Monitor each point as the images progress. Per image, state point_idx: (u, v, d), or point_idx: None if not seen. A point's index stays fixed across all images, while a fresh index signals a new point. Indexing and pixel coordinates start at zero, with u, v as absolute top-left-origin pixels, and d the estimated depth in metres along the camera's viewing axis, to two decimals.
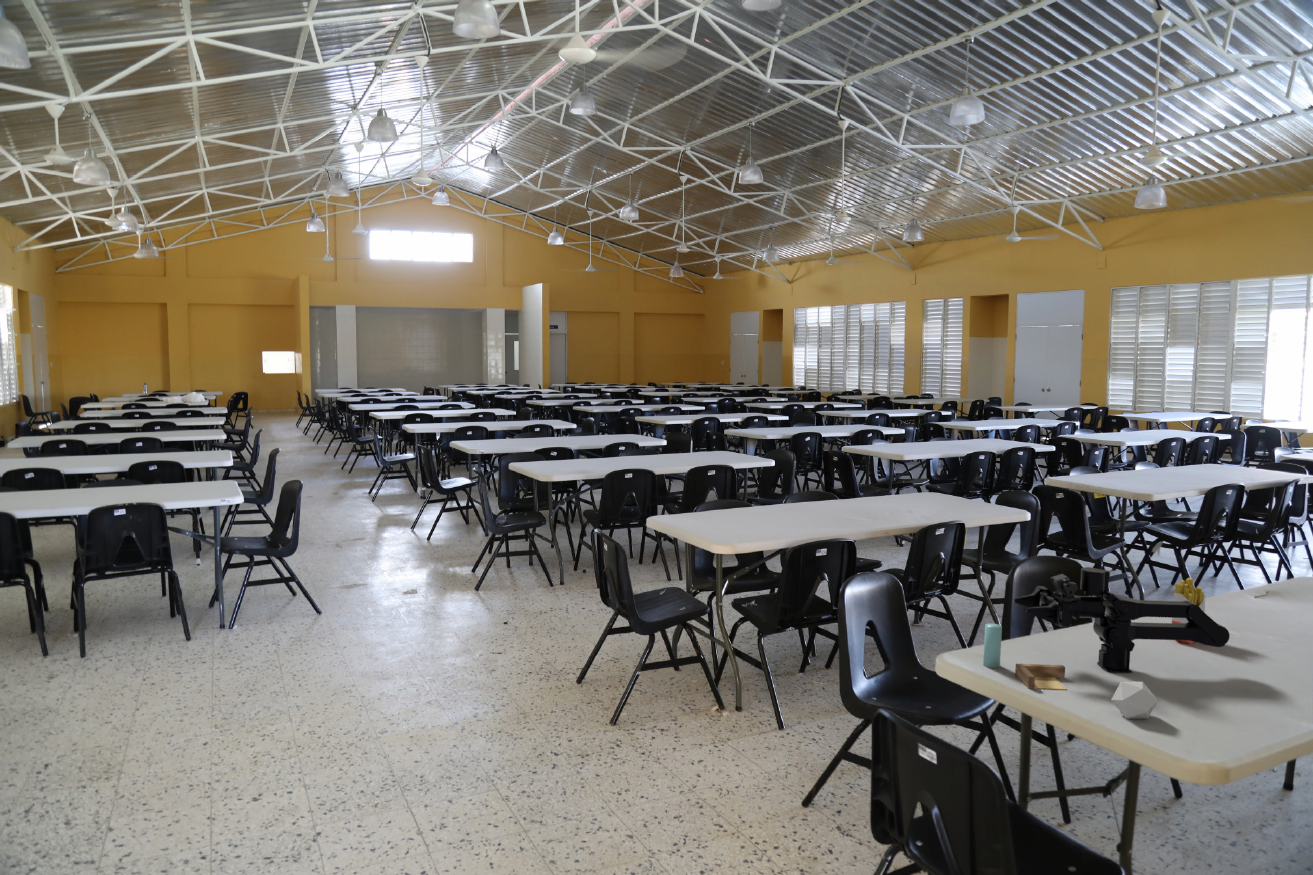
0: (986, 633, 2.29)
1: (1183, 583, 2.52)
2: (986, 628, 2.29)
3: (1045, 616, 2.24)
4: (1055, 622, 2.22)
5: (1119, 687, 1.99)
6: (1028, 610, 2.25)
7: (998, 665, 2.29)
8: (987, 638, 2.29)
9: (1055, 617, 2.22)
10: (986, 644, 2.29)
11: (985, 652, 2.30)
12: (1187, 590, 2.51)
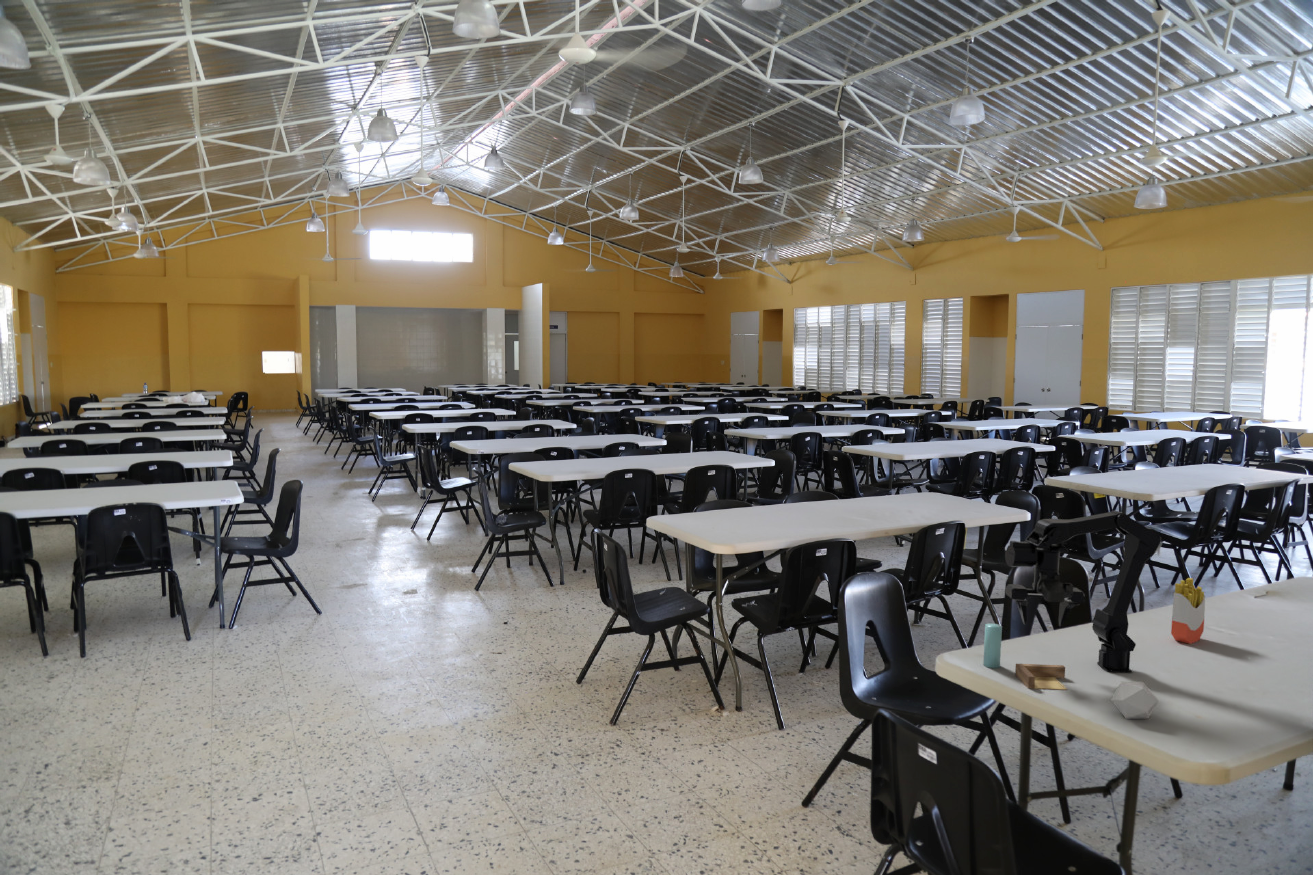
0: (986, 633, 2.29)
1: (1183, 583, 2.52)
2: (986, 628, 2.29)
3: None
4: None
5: (1119, 687, 1.99)
6: None
7: (998, 665, 2.29)
8: (987, 638, 2.29)
9: None
10: (986, 644, 2.29)
11: (985, 652, 2.30)
12: (1187, 590, 2.51)
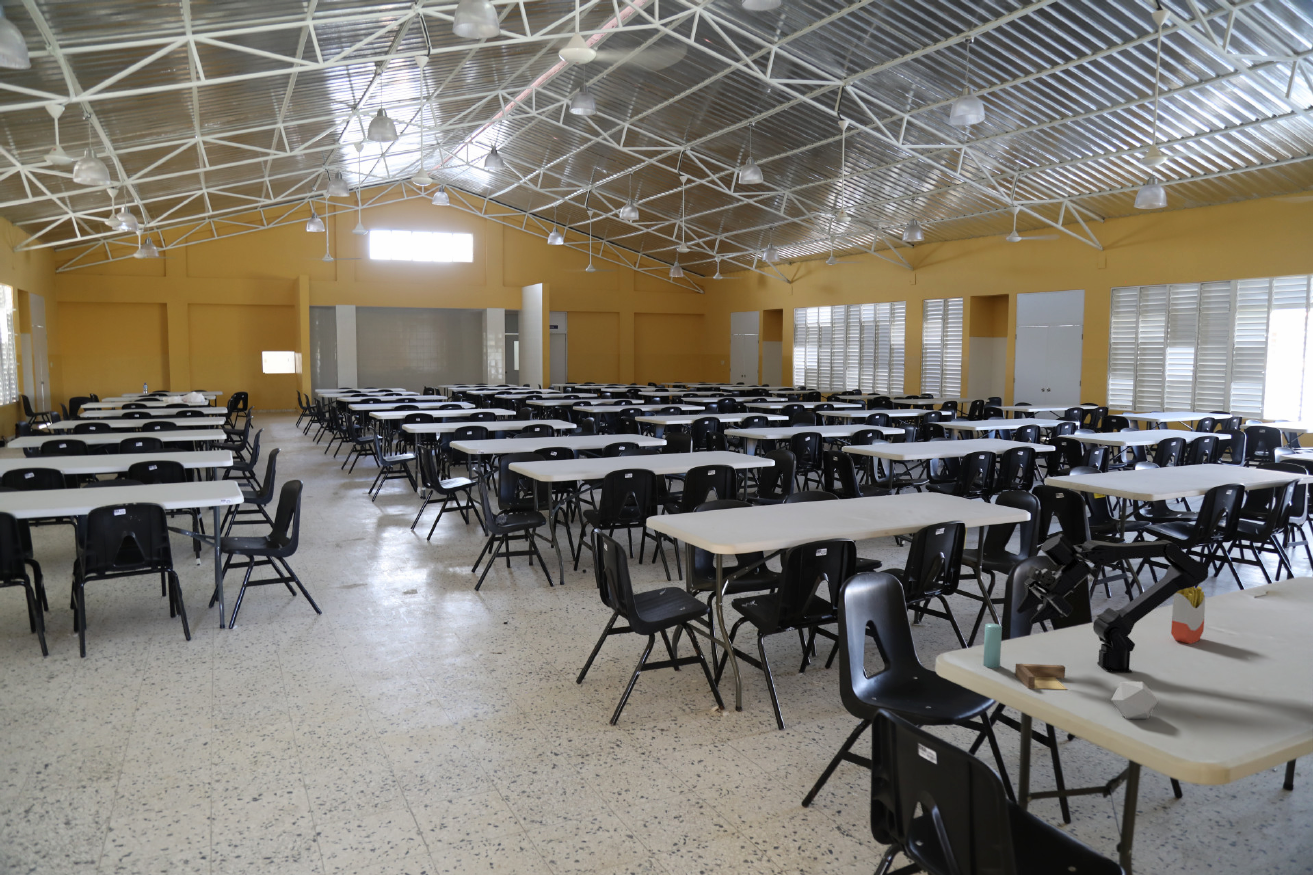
0: (986, 633, 2.29)
1: None
2: (986, 628, 2.29)
3: (1048, 615, 2.23)
4: (1060, 615, 2.21)
5: (1119, 687, 1.99)
6: (1032, 621, 2.24)
7: (998, 665, 2.29)
8: (987, 638, 2.29)
9: (1056, 611, 2.21)
10: (986, 644, 2.29)
11: (985, 652, 2.30)
12: (1187, 590, 2.51)
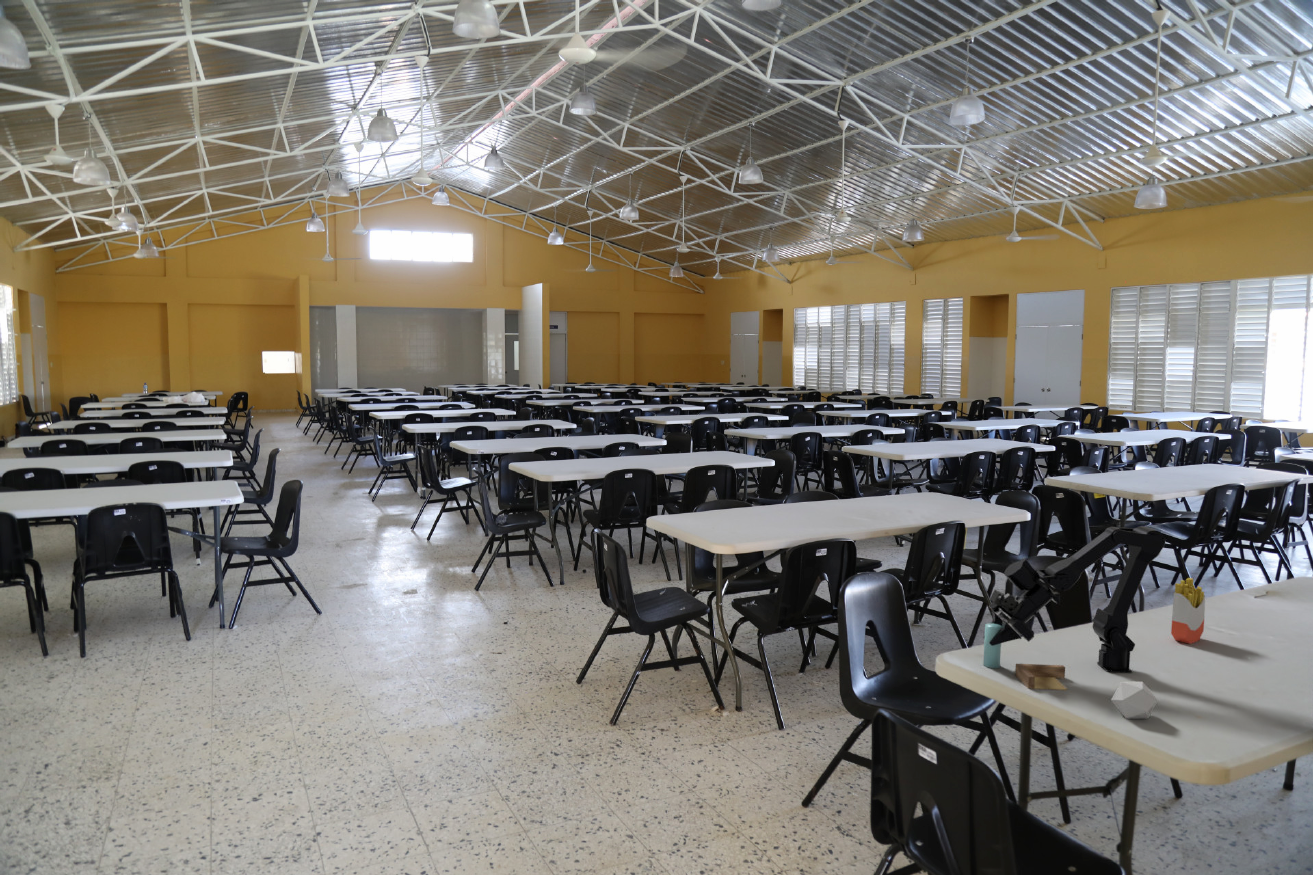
0: (986, 633, 2.29)
1: (1183, 583, 2.52)
2: (986, 628, 2.29)
3: (1007, 637, 2.26)
4: (1018, 637, 2.25)
5: (1119, 687, 1.99)
6: (991, 643, 2.28)
7: (998, 665, 2.29)
8: (987, 638, 2.29)
9: (1014, 633, 2.25)
10: (986, 644, 2.29)
11: (985, 652, 2.30)
12: (1187, 590, 2.51)
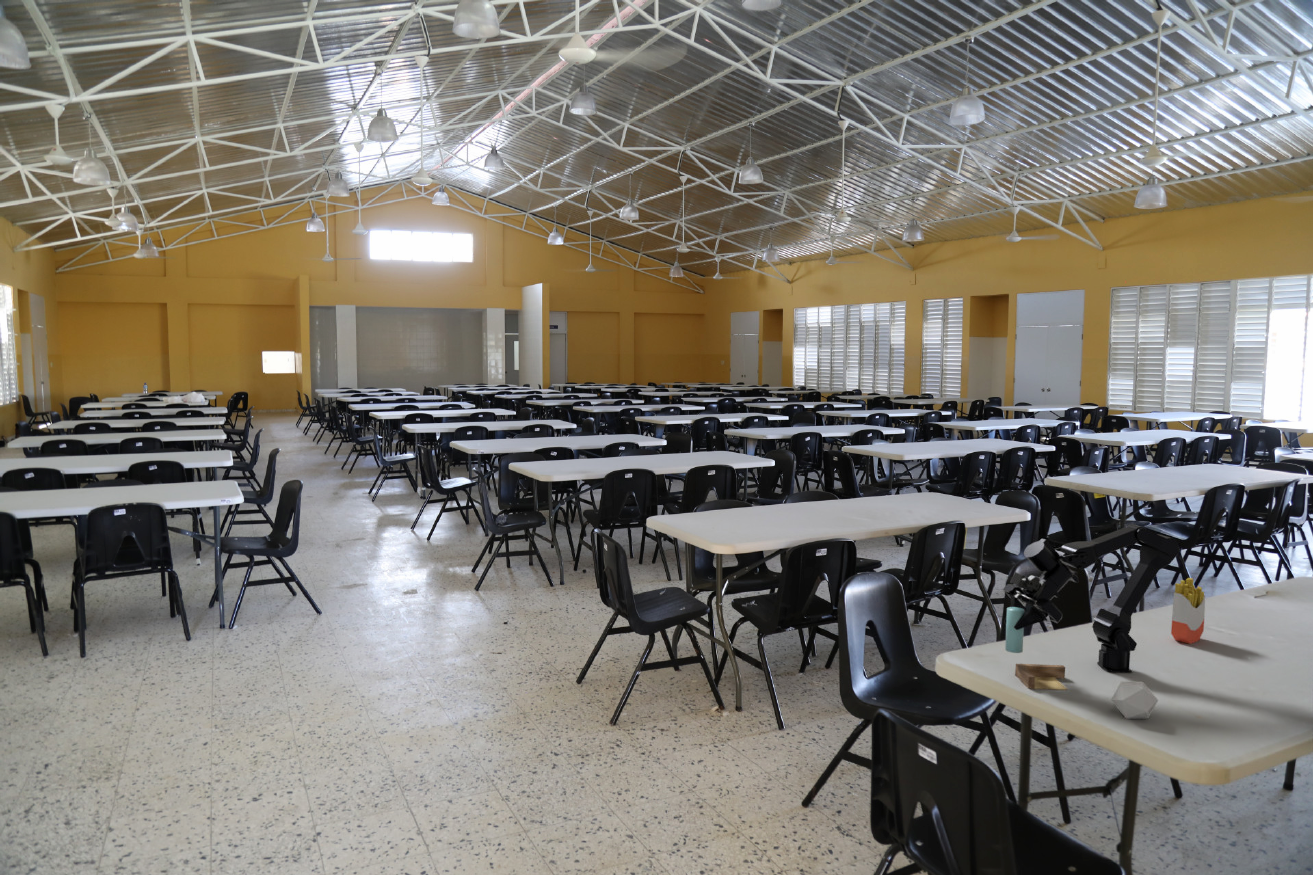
0: (1009, 617, 2.22)
1: (1183, 583, 2.52)
2: (1009, 612, 2.22)
3: (1032, 620, 2.20)
4: (1044, 619, 2.19)
5: (1119, 687, 1.99)
6: (1016, 627, 2.21)
7: (1022, 649, 2.23)
8: (1010, 623, 2.22)
9: (1040, 615, 2.19)
10: (1009, 629, 2.22)
11: (1008, 637, 2.23)
12: (1187, 590, 2.51)
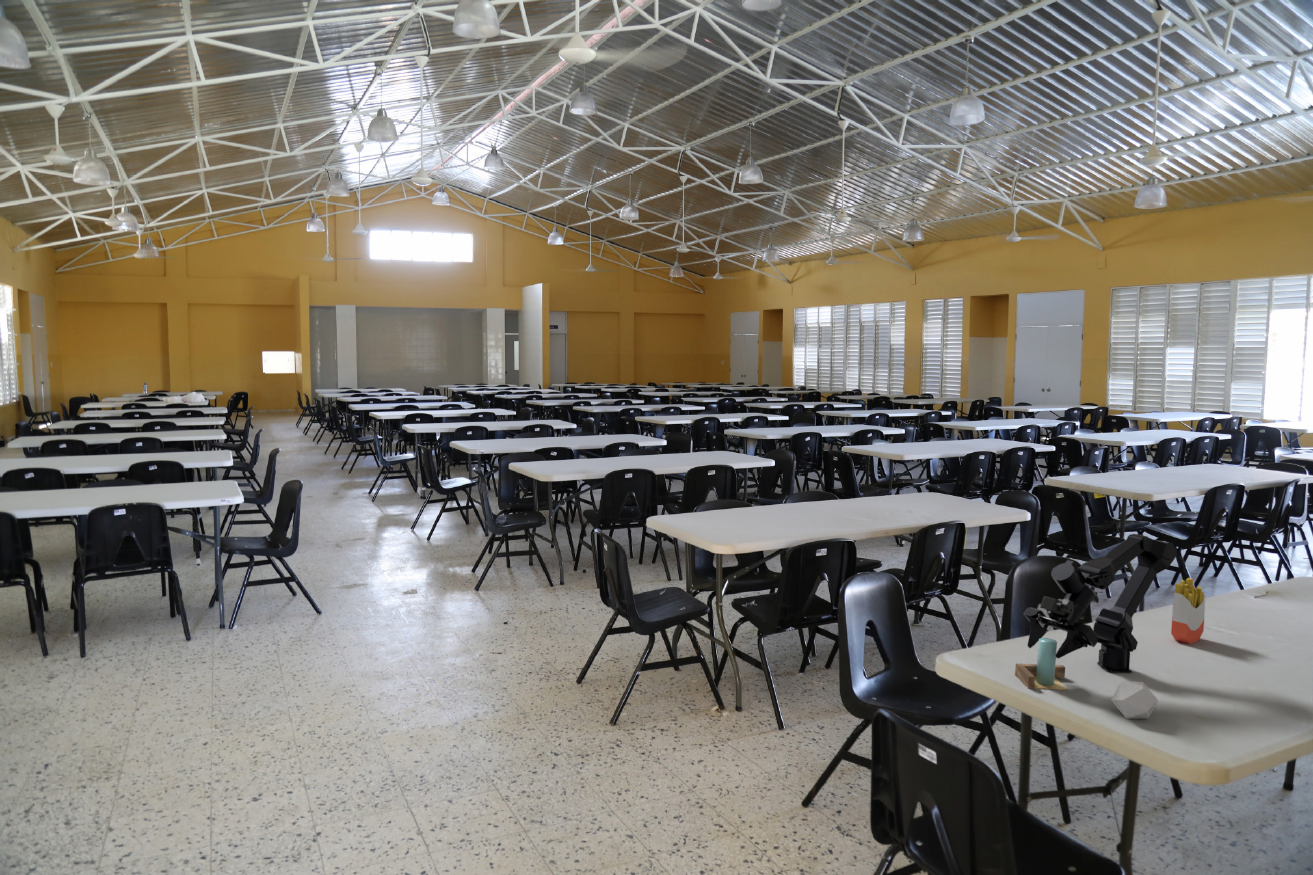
0: (1044, 650, 2.16)
1: (1183, 583, 2.52)
2: (1043, 644, 2.16)
3: (1072, 647, 2.13)
4: (1084, 645, 2.13)
5: (1119, 687, 1.99)
6: (1058, 656, 2.13)
7: None
8: (1045, 655, 2.15)
9: (1081, 642, 2.13)
10: (1044, 661, 2.16)
11: (1042, 670, 2.16)
12: (1187, 590, 2.51)
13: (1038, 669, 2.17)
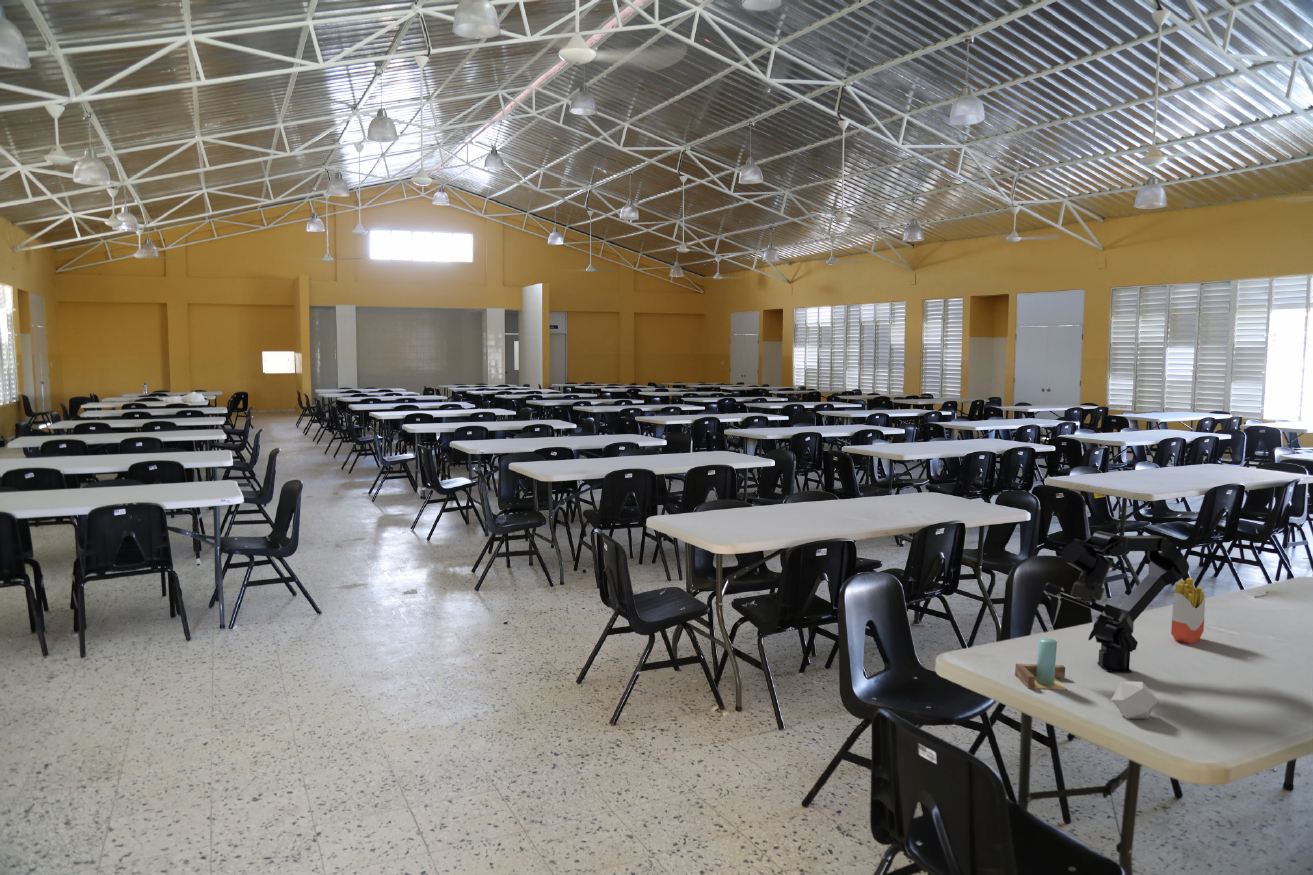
0: (1043, 650, 2.16)
1: (1183, 583, 2.52)
2: (1043, 644, 2.16)
3: (1101, 626, 2.20)
4: (1110, 622, 2.20)
5: (1119, 687, 1.99)
6: (1090, 638, 2.19)
7: None
8: (1045, 655, 2.16)
9: (1109, 621, 2.19)
10: (1044, 661, 2.16)
11: (1042, 670, 2.16)
12: (1187, 590, 2.51)
13: (1038, 669, 2.17)
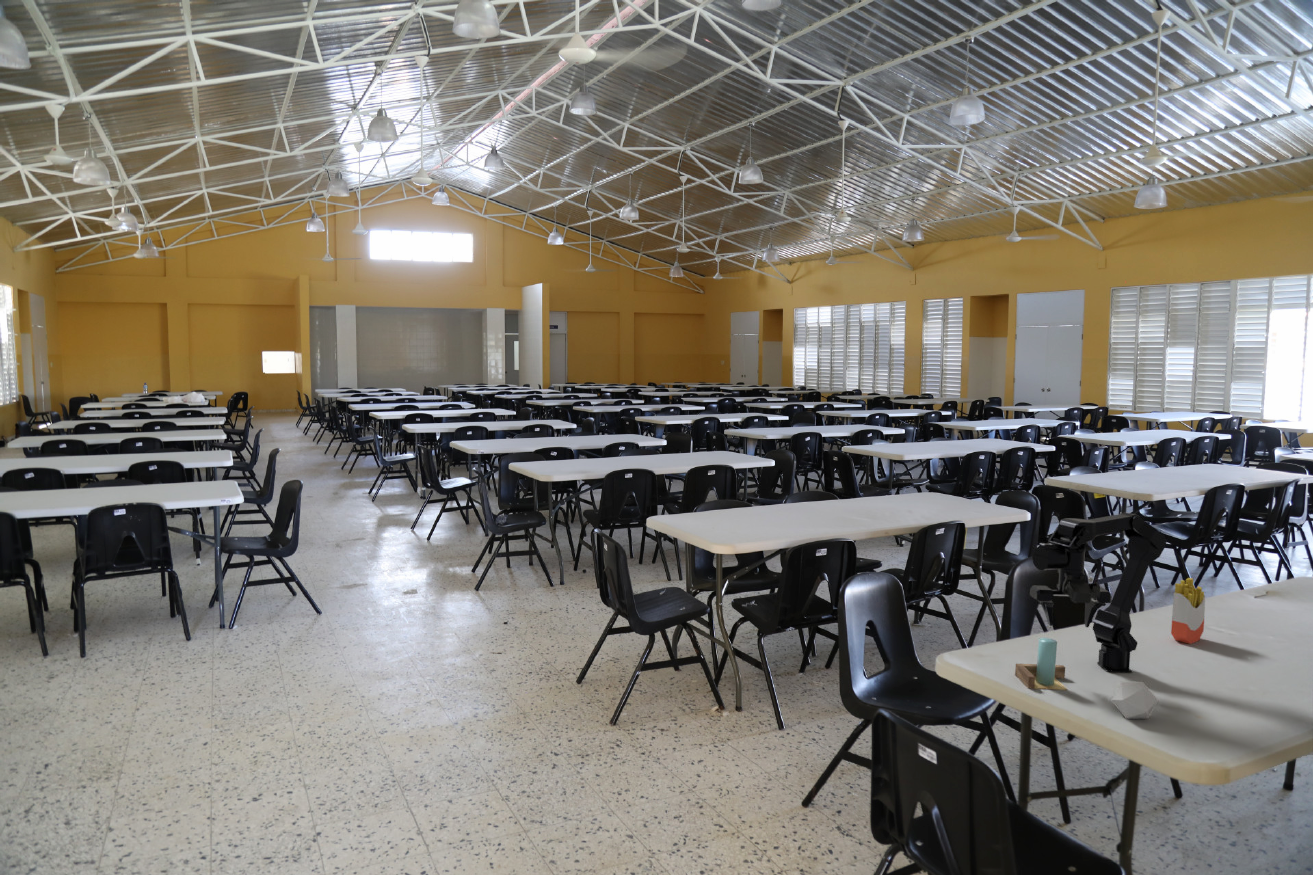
0: (1044, 650, 2.16)
1: (1183, 583, 2.52)
2: (1044, 644, 2.16)
3: None
4: None
5: (1119, 687, 1.99)
6: None
7: None
8: (1045, 655, 2.15)
9: None
10: (1044, 661, 2.16)
11: (1042, 670, 2.16)
12: (1187, 590, 2.51)
13: (1038, 669, 2.17)
